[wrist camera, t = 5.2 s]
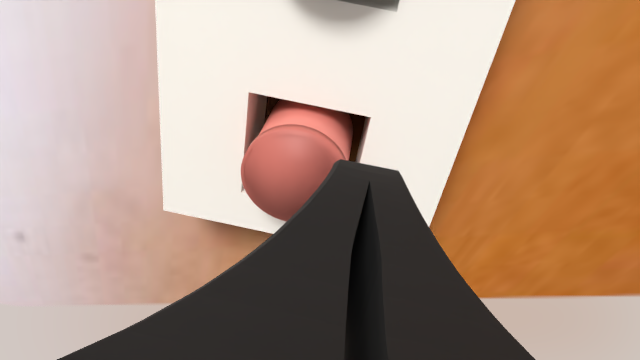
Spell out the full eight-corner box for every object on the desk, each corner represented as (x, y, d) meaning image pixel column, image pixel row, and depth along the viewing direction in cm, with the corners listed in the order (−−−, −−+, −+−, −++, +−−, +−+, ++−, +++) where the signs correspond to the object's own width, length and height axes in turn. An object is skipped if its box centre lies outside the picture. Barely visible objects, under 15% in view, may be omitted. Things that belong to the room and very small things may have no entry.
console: (558, -209, 13) (605, -236, 10) (412, 214, 22) (415, 263, 19) (195, -276, 14) (141, -321, 11) (193, 168, 22) (163, 210, 20)
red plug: (364, 97, 18) (358, 143, 15) (345, 176, 20) (337, 232, 17) (270, 78, 18) (244, 120, 15) (262, 159, 20) (237, 211, 17)
